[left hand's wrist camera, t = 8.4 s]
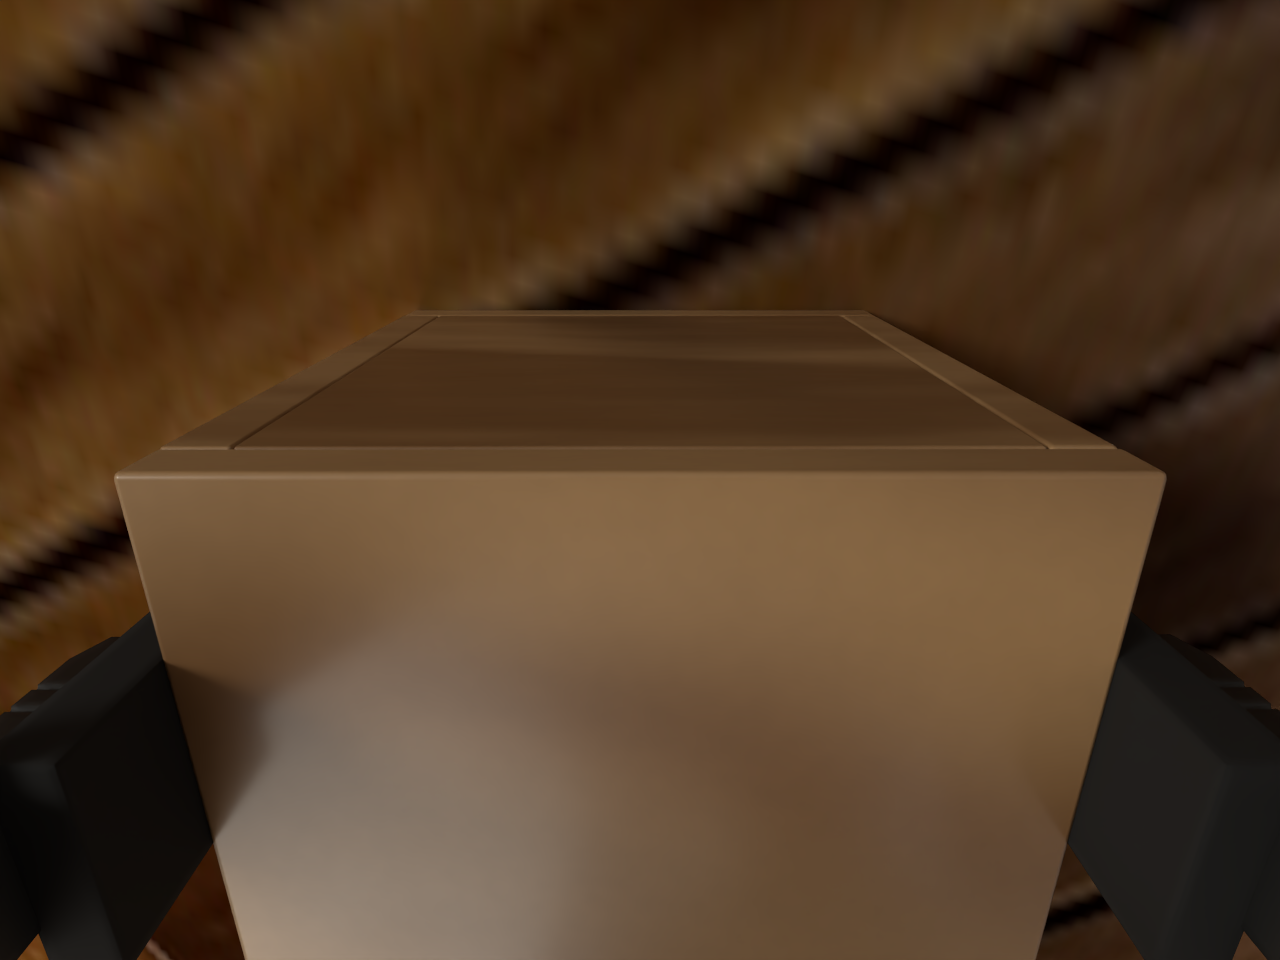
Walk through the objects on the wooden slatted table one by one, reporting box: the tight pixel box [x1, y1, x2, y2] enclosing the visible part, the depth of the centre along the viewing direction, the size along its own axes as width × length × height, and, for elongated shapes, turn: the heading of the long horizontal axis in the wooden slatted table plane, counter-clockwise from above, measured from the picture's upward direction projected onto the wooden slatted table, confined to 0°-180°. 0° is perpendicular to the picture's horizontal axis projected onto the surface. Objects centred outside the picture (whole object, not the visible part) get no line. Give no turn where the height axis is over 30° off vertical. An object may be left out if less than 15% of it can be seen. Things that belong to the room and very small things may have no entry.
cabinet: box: [114, 310, 1167, 960], centre depth 16 cm, size 20×11×11 cm, turn 0°
